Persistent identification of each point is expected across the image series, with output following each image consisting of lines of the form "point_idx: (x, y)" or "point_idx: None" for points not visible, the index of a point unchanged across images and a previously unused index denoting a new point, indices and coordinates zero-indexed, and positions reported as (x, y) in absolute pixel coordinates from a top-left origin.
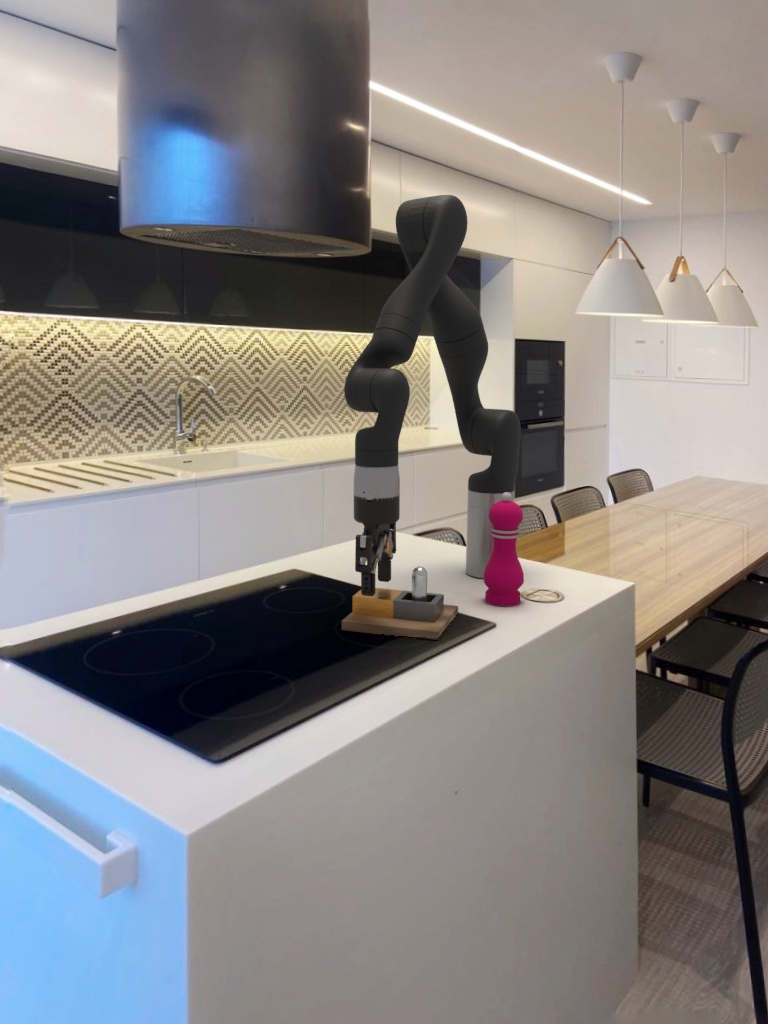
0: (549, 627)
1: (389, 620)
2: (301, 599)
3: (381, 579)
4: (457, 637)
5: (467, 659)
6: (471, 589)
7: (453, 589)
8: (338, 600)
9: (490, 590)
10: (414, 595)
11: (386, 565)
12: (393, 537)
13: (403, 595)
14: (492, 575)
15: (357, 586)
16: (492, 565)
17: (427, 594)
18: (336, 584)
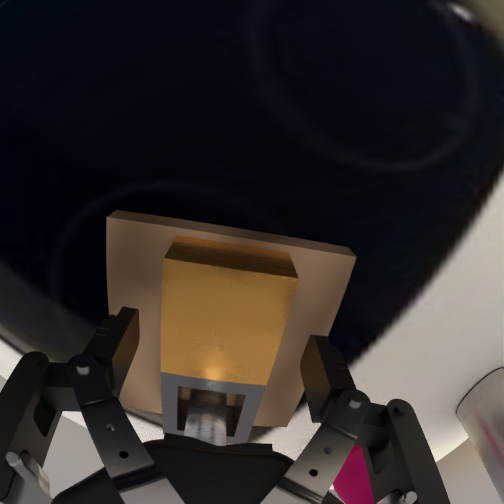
0: None
1: (150, 333)
2: (381, 44)
3: (308, 346)
4: (156, 414)
5: (79, 412)
6: (425, 400)
7: (432, 379)
8: (387, 151)
9: (356, 450)
10: (188, 416)
11: (314, 399)
12: (373, 492)
13: (216, 389)
14: (347, 479)
15: (485, 195)
16: (358, 490)
17: (238, 425)
18: (496, 142)
